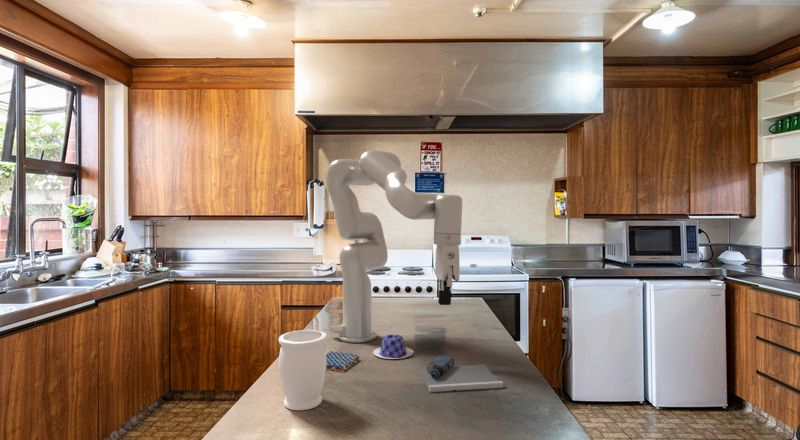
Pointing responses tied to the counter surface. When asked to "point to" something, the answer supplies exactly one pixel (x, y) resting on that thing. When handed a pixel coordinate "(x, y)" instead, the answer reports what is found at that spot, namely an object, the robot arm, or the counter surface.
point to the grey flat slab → (461, 379)
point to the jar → (302, 368)
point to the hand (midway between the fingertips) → (444, 304)
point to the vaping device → (440, 366)
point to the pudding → (393, 348)
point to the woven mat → (340, 361)
